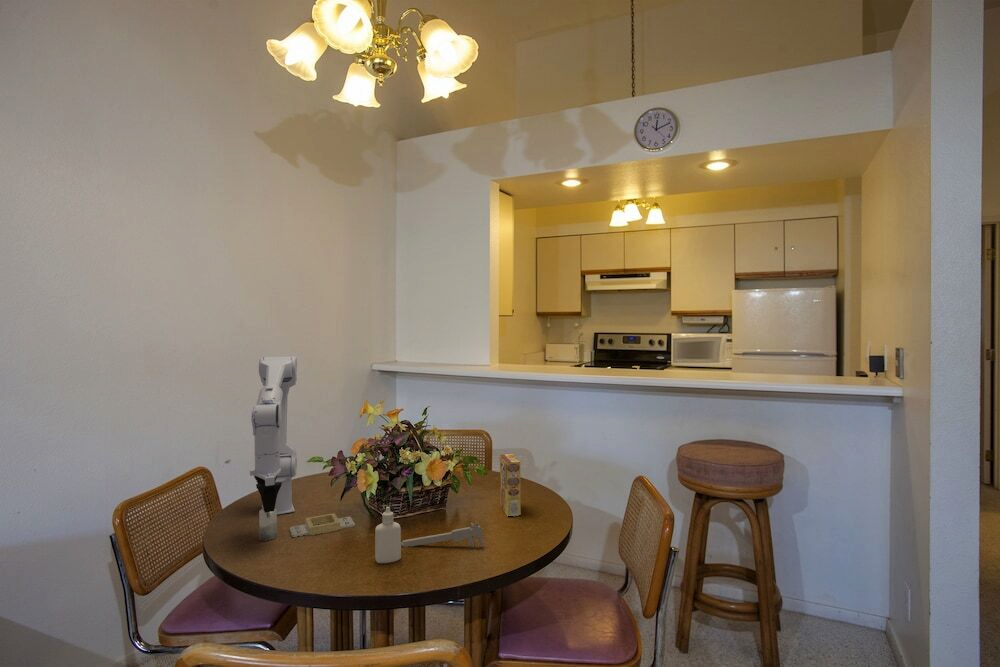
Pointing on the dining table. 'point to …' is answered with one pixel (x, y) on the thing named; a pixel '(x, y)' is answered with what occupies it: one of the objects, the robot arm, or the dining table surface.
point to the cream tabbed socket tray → (323, 528)
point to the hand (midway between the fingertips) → (267, 506)
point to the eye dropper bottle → (387, 539)
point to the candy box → (510, 485)
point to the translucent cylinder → (268, 524)
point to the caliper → (449, 537)
